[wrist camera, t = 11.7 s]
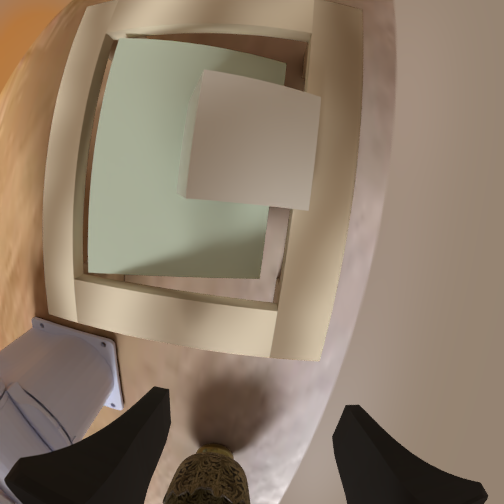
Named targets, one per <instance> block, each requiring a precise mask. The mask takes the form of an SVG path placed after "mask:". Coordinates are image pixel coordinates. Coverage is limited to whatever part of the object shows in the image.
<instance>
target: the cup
mask: <svg viewBox="0 0 504 504" xmlns="http://www.w3.org/2000/svg"><path fill="white" fill-rule="evenodd" d="M233 459H234V458H233V455H232V452H231V451H230V450H229V449H228V448H227V447H225V446H223V445H220V444H214V443H210V444H205V445H203V446H201V447H200V448H199V449H198V450H197V452H196V454H194V455H191V456H189V457H188V458H186V459H185V460H184V461H183V462H182V463H181V464H180V466H179V467H178V469H177V471H176V473H175V475H174V477H173V479H172V481H171V483H170V486H169V488H168V490H167V493H166V495H165V497H164V499H163V504H250V497H249V490H248V483H247V478H246V475H245V472H244V470H243V469H242V467H241V466H240V465H239V464H238V463H237V462H236V461H235V460H233Z"/></svg>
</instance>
